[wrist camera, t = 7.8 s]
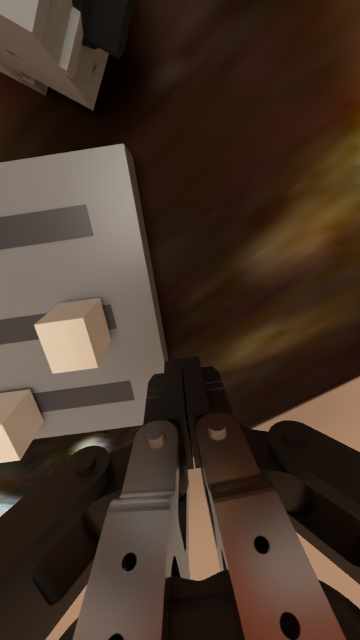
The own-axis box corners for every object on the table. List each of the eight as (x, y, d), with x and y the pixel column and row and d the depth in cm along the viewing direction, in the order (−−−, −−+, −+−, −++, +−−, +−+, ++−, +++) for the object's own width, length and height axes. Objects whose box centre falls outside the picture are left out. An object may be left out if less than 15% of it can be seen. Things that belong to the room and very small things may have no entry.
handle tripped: (99, 297, 19) (83, 317, 16) (111, 339, 21) (98, 367, 17) (59, 303, 19) (33, 324, 16) (73, 345, 21) (52, 373, 17)
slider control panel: (132, 156, 20) (123, 143, 16) (174, 393, 28) (175, 421, 24) (-100, 191, 20) (-162, 187, 16) (10, 415, 29) (-15, 446, 25)
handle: (30, 389, 22) (1, 424, 19) (43, 421, 24) (20, 460, 20) (-5, 393, 22) (-40, 430, 19) (11, 425, 24) (-19, 465, 20)
